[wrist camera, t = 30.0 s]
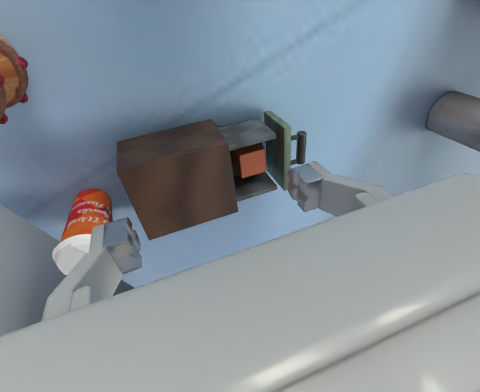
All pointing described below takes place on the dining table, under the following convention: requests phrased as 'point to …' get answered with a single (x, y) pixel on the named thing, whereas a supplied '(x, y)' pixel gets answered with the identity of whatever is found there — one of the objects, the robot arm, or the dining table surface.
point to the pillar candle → (457, 118)
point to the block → (249, 160)
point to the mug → (11, 79)
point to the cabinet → (178, 177)
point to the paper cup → (81, 227)
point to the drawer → (277, 152)
